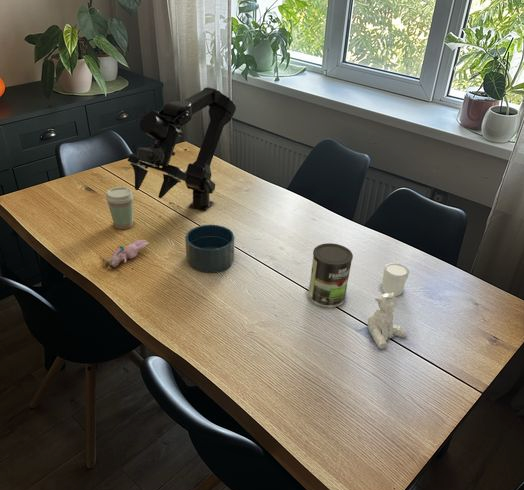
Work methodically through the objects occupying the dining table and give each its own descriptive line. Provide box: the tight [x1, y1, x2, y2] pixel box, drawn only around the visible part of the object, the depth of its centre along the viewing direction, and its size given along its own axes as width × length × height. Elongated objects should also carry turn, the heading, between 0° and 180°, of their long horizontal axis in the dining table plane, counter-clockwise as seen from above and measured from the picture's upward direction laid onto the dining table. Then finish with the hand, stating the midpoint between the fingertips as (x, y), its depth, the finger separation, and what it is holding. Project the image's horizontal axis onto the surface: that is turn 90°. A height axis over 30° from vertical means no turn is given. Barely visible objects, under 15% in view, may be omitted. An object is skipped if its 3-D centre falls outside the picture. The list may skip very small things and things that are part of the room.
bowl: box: [184, 224, 236, 274], centre depth 147 cm, size 14×14×8 cm
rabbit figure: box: [102, 239, 150, 270], centre depth 146 cm, size 6×6×15 cm
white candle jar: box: [381, 262, 410, 297], centre depth 139 cm, size 7×7×7 cm
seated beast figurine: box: [367, 293, 407, 350], centre depth 122 cm, size 10×9×12 cm
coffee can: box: [307, 242, 354, 309], centre depth 133 cm, size 10×10×14 cm
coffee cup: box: [105, 186, 134, 230], centre depth 160 cm, size 9×9×12 cm
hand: (147, 193), depth 150 cm, fingers open, 9 cm apart
